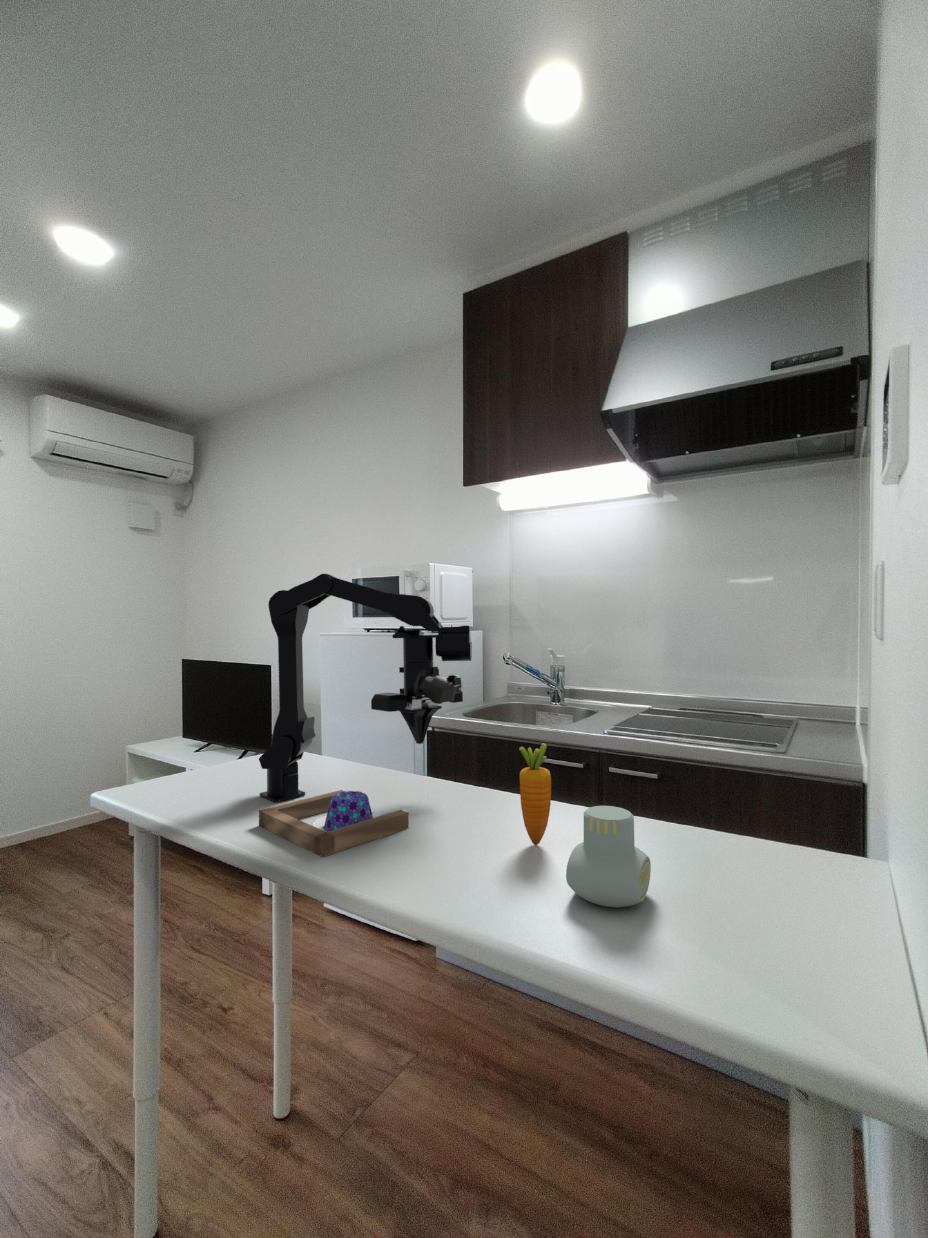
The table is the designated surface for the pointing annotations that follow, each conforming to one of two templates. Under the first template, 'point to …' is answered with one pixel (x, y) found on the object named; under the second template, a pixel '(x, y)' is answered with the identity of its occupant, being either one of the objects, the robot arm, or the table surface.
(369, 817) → the pudding
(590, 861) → the air freshener
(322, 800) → the holder
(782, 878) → the table surface
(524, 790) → the carrot
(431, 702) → the robot arm
